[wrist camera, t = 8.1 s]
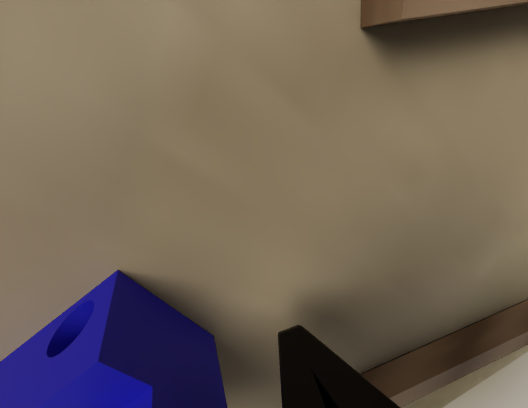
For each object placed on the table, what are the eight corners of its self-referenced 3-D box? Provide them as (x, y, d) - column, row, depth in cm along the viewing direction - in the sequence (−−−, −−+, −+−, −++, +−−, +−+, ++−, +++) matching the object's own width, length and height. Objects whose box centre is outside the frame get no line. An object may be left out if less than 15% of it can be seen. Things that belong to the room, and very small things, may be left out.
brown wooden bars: (693, -71, 10) (776, -93, 8) (524, 314, 18) (551, 332, 17) (362, -45, 7) (409, -73, 5) (351, 394, 16) (368, 423, 14)
